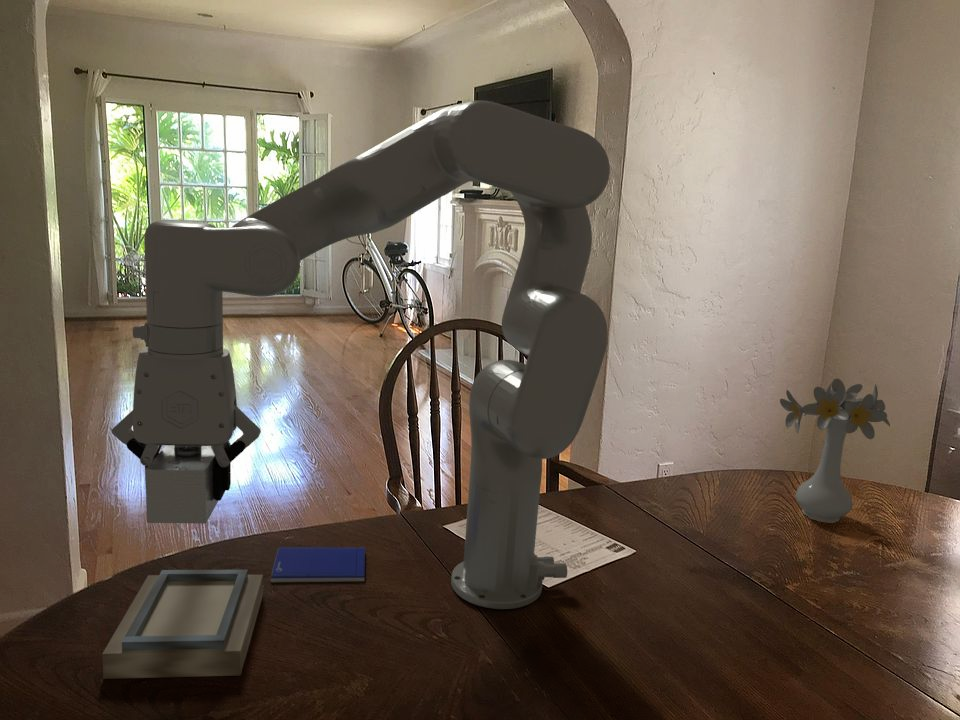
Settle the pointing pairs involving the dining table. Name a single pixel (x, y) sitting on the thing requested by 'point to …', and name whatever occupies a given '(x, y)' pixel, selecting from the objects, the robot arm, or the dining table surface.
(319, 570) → the hard drive
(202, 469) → the block
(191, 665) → the stand
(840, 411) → the flower vase
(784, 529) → the dining table surface
